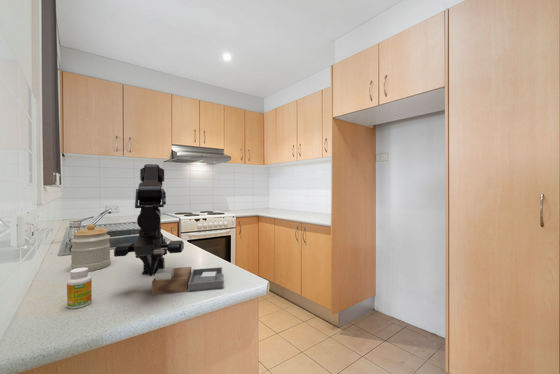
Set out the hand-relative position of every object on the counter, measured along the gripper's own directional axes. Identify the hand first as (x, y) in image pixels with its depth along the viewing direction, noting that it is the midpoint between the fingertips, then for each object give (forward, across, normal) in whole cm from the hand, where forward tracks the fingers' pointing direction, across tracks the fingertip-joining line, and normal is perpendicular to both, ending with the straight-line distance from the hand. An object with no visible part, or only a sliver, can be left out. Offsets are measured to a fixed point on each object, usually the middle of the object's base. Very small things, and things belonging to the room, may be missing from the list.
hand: (151, 275), depth 80 cm
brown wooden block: (+5, +6, +3) cm, 8 cm away
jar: (+5, -30, +32) cm, 44 cm away
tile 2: (+1, +4, 0) cm, 4 cm away
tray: (+5, +16, +4) cm, 17 cm away
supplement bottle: (+5, -17, -5) cm, 18 cm away
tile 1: (+2, +17, +4) cm, 18 cm away
